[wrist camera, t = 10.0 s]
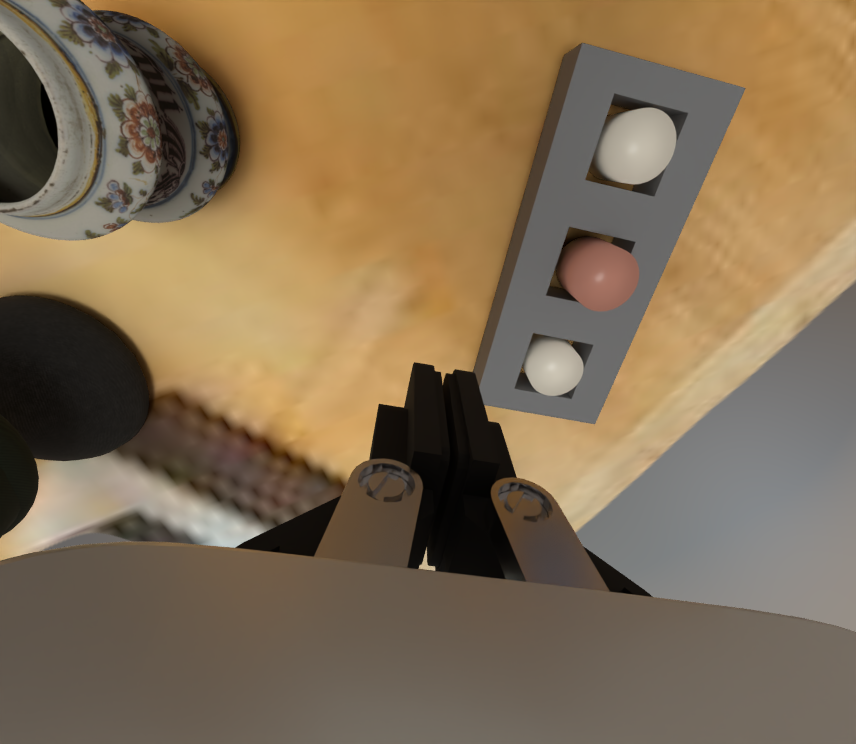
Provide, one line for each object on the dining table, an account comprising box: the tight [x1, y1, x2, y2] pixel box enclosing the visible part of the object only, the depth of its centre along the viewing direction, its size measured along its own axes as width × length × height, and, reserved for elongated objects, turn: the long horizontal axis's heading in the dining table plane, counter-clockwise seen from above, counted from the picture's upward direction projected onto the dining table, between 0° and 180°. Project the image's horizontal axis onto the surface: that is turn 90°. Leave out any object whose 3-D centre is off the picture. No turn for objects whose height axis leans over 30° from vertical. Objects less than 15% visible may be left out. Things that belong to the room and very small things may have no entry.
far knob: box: [522, 333, 584, 396], centre depth 41 cm, size 5×5×5 cm
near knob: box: [589, 108, 676, 184], centre depth 33 cm, size 5×5×5 cm
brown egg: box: [556, 236, 639, 311], centre depth 35 cm, size 5×5×5 cm
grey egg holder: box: [473, 43, 745, 424], centre depth 37 cm, size 28×12×4 cm, turn 168°
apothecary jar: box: [0, 0, 240, 240], centre depth 26 cm, size 12×12×18 cm
